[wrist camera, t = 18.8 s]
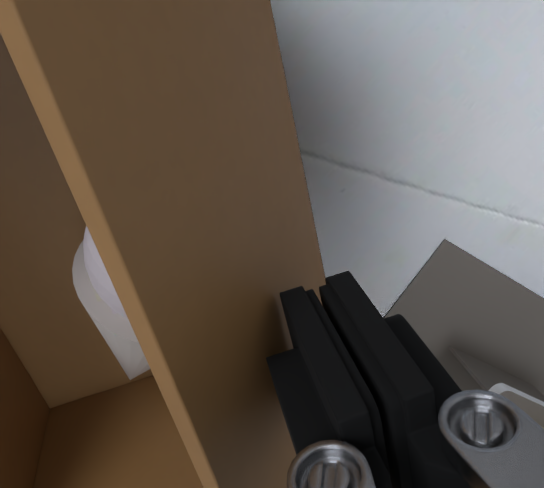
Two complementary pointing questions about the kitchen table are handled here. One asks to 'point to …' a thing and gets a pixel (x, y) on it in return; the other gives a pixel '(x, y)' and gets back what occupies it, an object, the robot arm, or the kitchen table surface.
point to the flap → (184, 199)
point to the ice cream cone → (106, 307)
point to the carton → (63, 339)
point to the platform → (479, 326)
